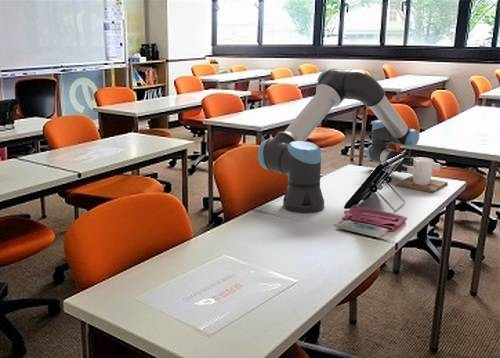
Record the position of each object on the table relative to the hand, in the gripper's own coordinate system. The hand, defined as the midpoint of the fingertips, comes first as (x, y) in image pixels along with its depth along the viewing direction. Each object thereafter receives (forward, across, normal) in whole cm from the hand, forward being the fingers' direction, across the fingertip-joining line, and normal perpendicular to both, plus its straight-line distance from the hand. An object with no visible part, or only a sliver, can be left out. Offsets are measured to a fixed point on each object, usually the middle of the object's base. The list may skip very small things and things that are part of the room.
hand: (426, 169), depth 210 cm
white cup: (-2, 0, -7) cm, 7 cm away
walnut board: (-2, 0, -7) cm, 8 cm away
